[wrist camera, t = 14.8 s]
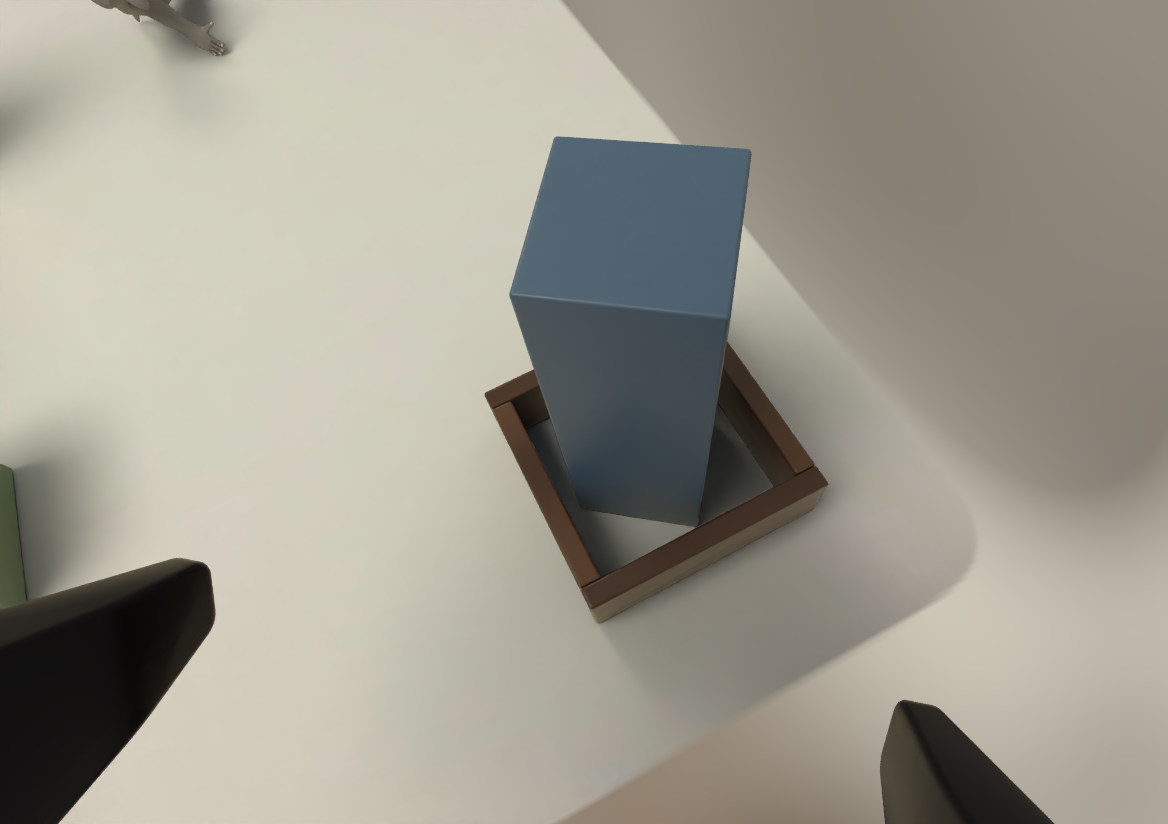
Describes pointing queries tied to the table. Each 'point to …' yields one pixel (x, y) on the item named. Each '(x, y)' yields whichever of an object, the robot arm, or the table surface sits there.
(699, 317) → the peg
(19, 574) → the riser
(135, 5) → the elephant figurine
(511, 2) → the table surface
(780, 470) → the stand
